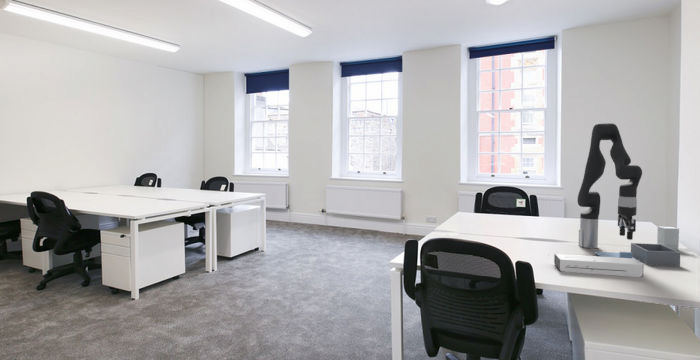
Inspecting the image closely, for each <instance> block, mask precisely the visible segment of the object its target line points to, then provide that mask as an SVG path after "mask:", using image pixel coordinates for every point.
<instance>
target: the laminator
mask: <svg viewBox="0 0 700 360" xmlns="http://www.w3.org/2000/svg"><path fill="white" fill-rule="evenodd" d="M640 262H641V261H640ZM640 262H639V260H638V261H637V259H636V260H635V259H634V257H633V258H617V257H600V256H596V255H595V256H594V255H579V254H578V255H577V254H563V253H554V260H553V263H554V265H555V266H556V268H558V271H559V272H561V271H565V272H566V273H575V272H577V273H579V274H590V275H591V274H593V275H606V276H618V277H619V276H620V277H633V278H642V277H643V276H644V266H645V264H644V263H643V262H641V263H640ZM565 272H564V273H565Z"/></svg>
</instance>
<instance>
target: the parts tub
mask: <svg viewBox="0 0 700 360" xmlns="http://www.w3.org/2000/svg"><path fill="white" fill-rule="evenodd" d="M630 252H632V257H633V258H635V259H636V260H638V261H640V262H641V263H642V264H643V265H646V266H659V267H660V266H661V267H663V266H664V267H665V266H666V267H681V251H679V250H673V249H671V248H669V247H666V246H664V245H662V244H657V243H636V242H631V243H630Z"/></svg>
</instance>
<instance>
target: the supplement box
mask: <svg viewBox="0 0 700 360" xmlns="http://www.w3.org/2000/svg"><path fill="white" fill-rule="evenodd" d="M679 234H680V228H677V227H673V226H657V238H656V239H657V241H656V244H662V245H664V246H666V247H669V248H671V249H673V250H676V251H679V245H680V244H679V240H680V235H679Z"/></svg>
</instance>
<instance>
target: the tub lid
mask: <svg viewBox="0 0 700 360" xmlns="http://www.w3.org/2000/svg"><path fill="white" fill-rule="evenodd" d="M594 253H595V254H596V255H598V256H600V257H617V258H634V257H632V252H631V251H619V252H611V251H610V252H608V251H594ZM634 259H635V258H634ZM635 260H637V259H635ZM637 261H639V260H637ZM639 262H640V263H642V262H641V261H639Z"/></svg>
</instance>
